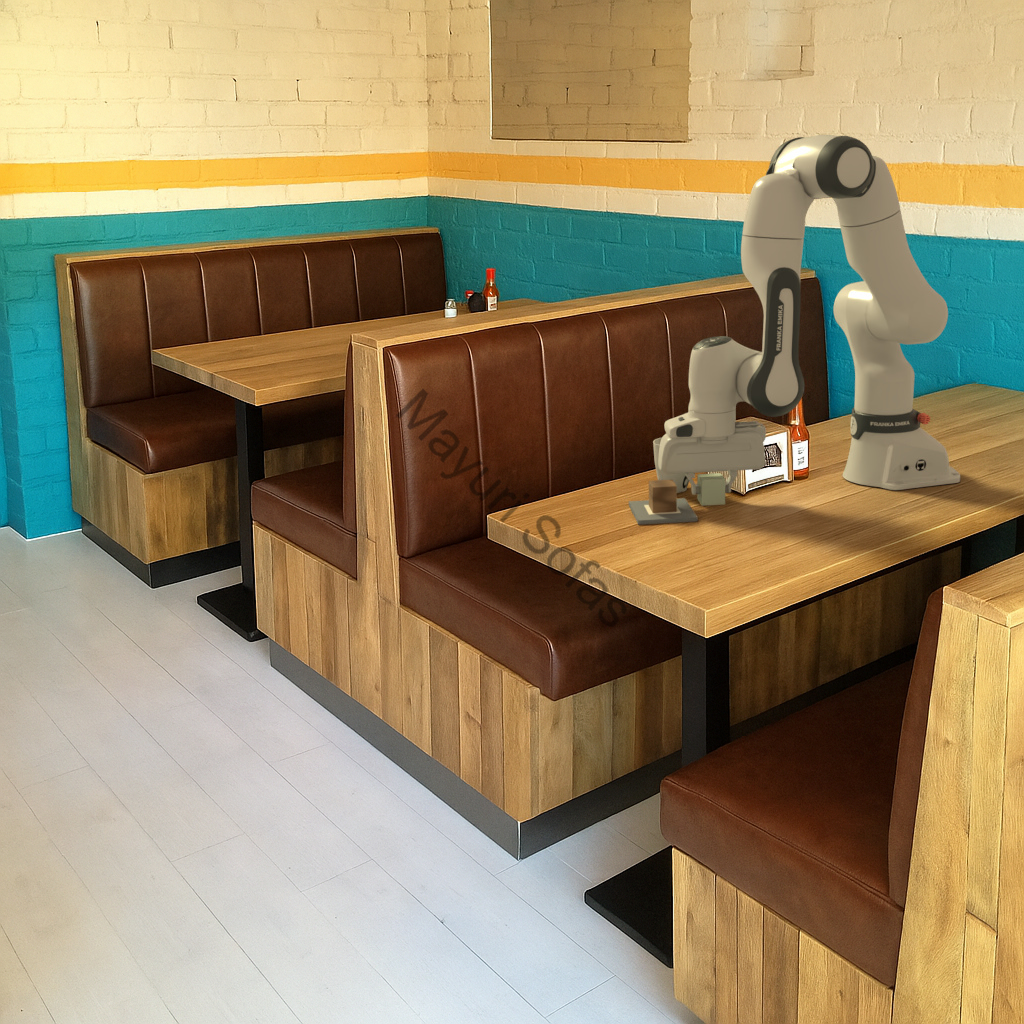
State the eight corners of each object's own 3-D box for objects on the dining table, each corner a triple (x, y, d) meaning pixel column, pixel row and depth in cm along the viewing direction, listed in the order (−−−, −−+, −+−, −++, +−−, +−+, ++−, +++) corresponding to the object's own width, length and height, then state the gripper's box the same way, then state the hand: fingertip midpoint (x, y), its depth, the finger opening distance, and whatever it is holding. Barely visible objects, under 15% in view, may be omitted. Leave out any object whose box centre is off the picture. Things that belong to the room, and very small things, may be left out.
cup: (692, 495, 224) (693, 446, 221) (651, 494, 226) (651, 446, 223) (694, 483, 232) (695, 436, 229) (655, 483, 233) (654, 436, 230)
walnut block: (672, 504, 216) (672, 479, 215) (676, 511, 212) (676, 486, 210) (648, 505, 216) (648, 480, 215) (652, 513, 212) (652, 487, 210)
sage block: (719, 497, 222) (720, 473, 221) (725, 504, 218) (725, 479, 216) (697, 498, 222) (697, 474, 221) (701, 505, 218) (702, 480, 216)
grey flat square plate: (684, 502, 220) (684, 497, 220) (697, 521, 209) (697, 516, 209) (628, 505, 220) (628, 501, 220) (638, 524, 208) (638, 520, 208)
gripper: (761, 416, 219) (760, 485, 223) (656, 422, 218) (656, 491, 222) (770, 424, 213) (768, 494, 217) (662, 430, 212) (662, 500, 216)
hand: (711, 492), depth 219 cm, fingers closed on sage block, 4 cm apart
